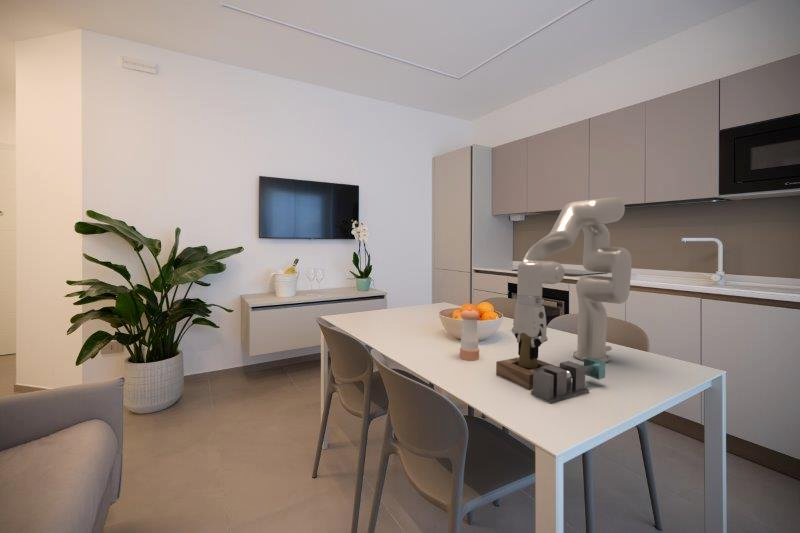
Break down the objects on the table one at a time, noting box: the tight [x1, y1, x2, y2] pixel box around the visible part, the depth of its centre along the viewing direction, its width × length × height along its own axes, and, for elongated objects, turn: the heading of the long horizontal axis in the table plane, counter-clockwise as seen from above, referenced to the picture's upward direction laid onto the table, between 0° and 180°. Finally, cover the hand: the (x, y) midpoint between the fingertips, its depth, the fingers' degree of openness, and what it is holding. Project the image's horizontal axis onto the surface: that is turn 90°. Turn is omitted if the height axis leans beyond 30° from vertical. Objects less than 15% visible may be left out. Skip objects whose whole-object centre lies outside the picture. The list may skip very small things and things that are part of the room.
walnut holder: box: [495, 356, 559, 391], centre depth 116 cm, size 14×14×4 cm
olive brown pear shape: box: [518, 333, 538, 368], centre depth 115 cm, size 6×6×11 cm
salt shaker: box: [459, 307, 480, 361], centre depth 137 cm, size 7×7×19 cm
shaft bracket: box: [530, 360, 590, 405], centre depth 104 cm, size 16×7×8 cm, turn 118°
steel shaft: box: [567, 357, 607, 380], centre depth 107 cm, size 17×5×5 cm, turn 118°
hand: (528, 356), depth 115 cm, fingers closed on olive brown pear shape, 4 cm apart
